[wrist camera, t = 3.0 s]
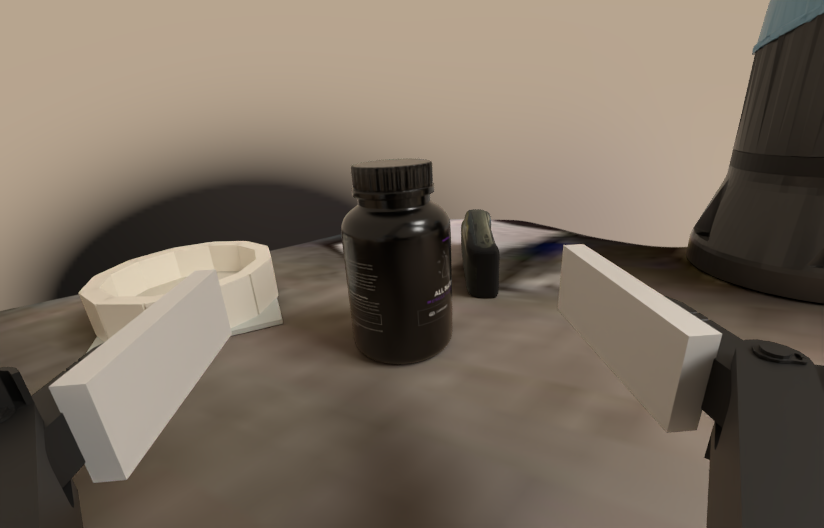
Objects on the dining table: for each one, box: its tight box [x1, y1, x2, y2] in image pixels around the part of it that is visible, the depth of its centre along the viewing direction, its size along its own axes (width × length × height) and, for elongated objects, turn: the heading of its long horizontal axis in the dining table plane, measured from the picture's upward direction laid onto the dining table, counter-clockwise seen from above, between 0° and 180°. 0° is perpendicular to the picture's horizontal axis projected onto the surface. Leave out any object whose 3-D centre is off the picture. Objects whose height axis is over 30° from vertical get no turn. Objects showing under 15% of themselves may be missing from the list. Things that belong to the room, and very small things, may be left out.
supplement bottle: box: [341, 159, 452, 364], centre depth 25 cm, size 7×7×12 cm
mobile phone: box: [461, 210, 499, 298], centre depth 38 cm, size 5×3×15 cm
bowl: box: [79, 241, 279, 342], centre depth 33 cm, size 13×13×4 cm
